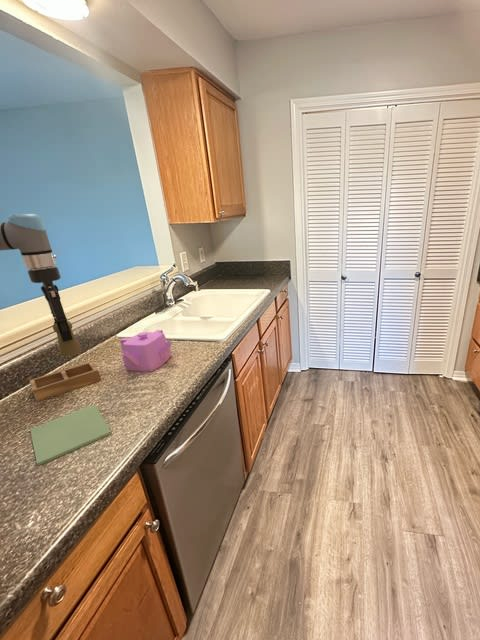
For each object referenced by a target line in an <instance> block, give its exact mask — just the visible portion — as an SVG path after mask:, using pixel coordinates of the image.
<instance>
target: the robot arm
mask: <svg viewBox="0 0 480 640" xmlns="http://www.w3.org/2000/svg"><path fill="white" fill-rule="evenodd" d="M7 219H8V220H7V221H5V222H0V251H10V250H11V251H13V250H19V252H20V255H21V258H22V261H23V264H24V267H25V268H26V269H28V270H27V274H28V278H29V281H30V282H31V283H33V284H42V285H41V286H40V290H41V292H42V293H43V296H44V299H45V300H46V302H47V304H48V306H49V309H50V314H51V315H52V317H53V324H56V323H57V326H58V329H59V332H60V334H61V337H62V340H63V342H65V341H69V340H73V338H72V335H71V332H70V329H69V326H68V323H67V321H68V318H67V317H66V312H65V311H64V307H63V304H62V302H61V296H60V293H59V291H60V290H59V288H58V286H57V285H56V284H54V281H58V280H61V273H60V271H59V268H58V267H57V266H56V265H57V261H56V259H57V255H56V254H54V253H53V250H52V247H51V244H50V240H49V237H48V234H47V229H46V228H45V225H44V223H43V220H42V217H41V216H40V215H38V214H37V213H21V214H20V213H19V214H9V215H8V216H7Z"/></svg>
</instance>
